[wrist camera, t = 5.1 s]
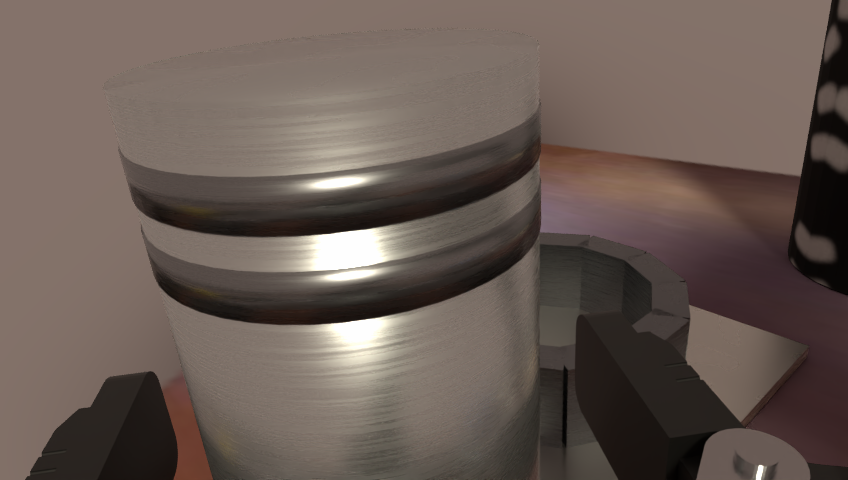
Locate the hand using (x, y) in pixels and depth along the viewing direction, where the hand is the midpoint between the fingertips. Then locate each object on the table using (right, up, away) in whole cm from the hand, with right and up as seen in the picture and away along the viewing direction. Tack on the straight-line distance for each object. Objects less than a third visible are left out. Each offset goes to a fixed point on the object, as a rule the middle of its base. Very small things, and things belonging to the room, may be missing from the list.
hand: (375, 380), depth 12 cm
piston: (+1, -8, +1) cm, 8 cm away
